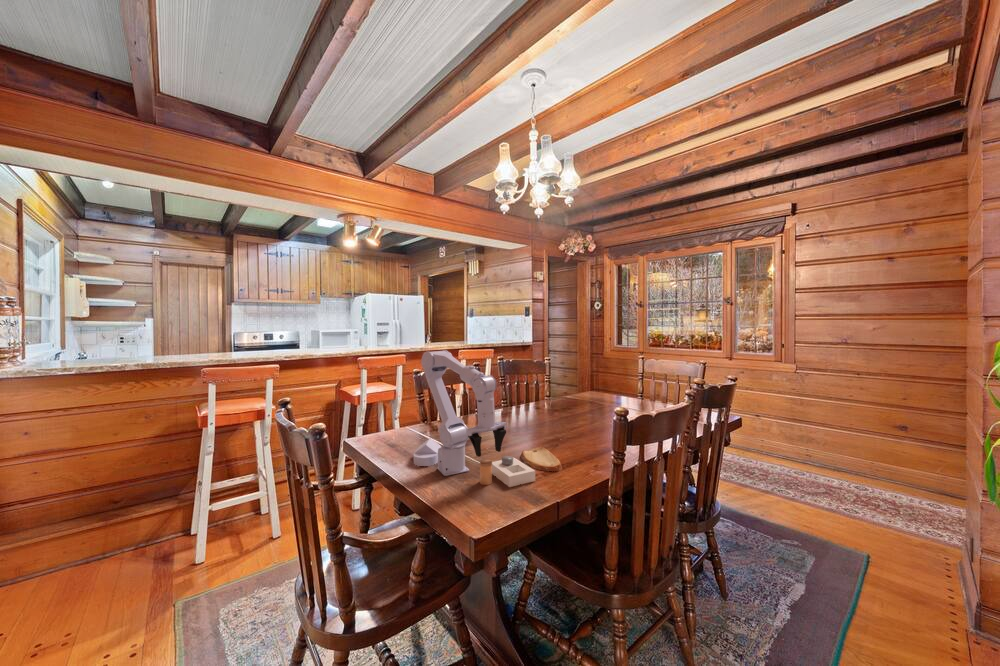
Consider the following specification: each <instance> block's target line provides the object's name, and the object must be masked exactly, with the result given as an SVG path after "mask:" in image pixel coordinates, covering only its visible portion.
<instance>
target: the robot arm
mask: <svg viewBox="0 0 1000 666" xmlns="http://www.w3.org/2000/svg"><path fill="white" fill-rule="evenodd" d="M420 364H421V367H422V370H423V372H424V375H425V379H426V382H427V384H428V387H429V389H430V392H431V395H432V398H433V401H434V403H435V406H436V409H437V411H438V414H439V416H440V419H441V424H440V425H439V427H438V428H437V429H438V433H439V440H440V443H441V448H439V449H438V462H437V467H436V468H437V471H439V472H440V473H441V474H442V475H443V476H444V477H447V476H452V475H456V474H457V475H458V474H461V473H466V472H469V471H470V469H469V467H467V466H466V444H467V441H468V440H469V441H470V442H471V444H472V446H473V449H474V453H475V456H476V457H478V458H480V457H481V456H482V449H481V448H482V446H481V445H482V444H481V443H482V436H481V435H480V434H483V433H487V432H492V433H493V439H494V447H495V451H496V452H498V453H500V452H501V451H502V446H503V445H502V444H503V441H504V438H505V436H506V434H507V430H506V429H507V428H508V426H507V425H508V423H507V422H506V421H501V422H496V414H495V413H496V410H495V397H494V396H495V394H494V392H495V391H496V390H497V386H498V384H497V380H496V378H495V377H494V376H493V375H490V374H489V375H488V374H487V375H486V374H485V373H484V372H482V371H479V370H478V369H476V368H475V366H474V365H464V364H463V363H461V361H460V360H458V359H457V358H455V357H454V356H453V354H452V353H451V352H450V351H448V350H447V349H443V350H435V351H425V352H423V354H422V356H421V359H420ZM447 369H449V370H451V371H453V372H454V373H456V374H458V375H459V378H460V380H461V381H462V382H464V383H465V384H467V385H468V386H470V387H471V388H472V391H473V393H474V395H475V400H476V407H477V425H475V426H472V427H468V426H467V425H466V424H465V422H464V420H463V419H462V418H460V417H458V416H457V414H456V411H455V409H454V406H453V404H452V401H451V399H450V396H449V394H448V391H447V388H446V386H445V383H444V380H443V378H442V377H443V375H444V374H445V373H446V371H447Z"/></svg>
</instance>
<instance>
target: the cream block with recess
mask: <svg viewBox="0 0 1000 666" xmlns="http://www.w3.org/2000/svg"><path fill="white" fill-rule="evenodd" d="M492 476H494V477H495V476H496V479H498V480H499V481H501V482H502V483H503V484H504V485H506V486H507V487H508V488H512V487H516V486H521V485H525V484H528V483H533V482H536V469H534V468H533V467H531V466H530V465H527V464H526V463H524V462H523V461H520V460H519V459H517V458H515V457H513V456H511V455H504V456H502V457H501V459H500V460H495V461H492ZM520 484H521V485H520Z"/></svg>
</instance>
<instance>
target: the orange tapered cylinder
mask: <svg viewBox="0 0 1000 666" xmlns="http://www.w3.org/2000/svg"><path fill="white" fill-rule="evenodd" d="M492 462H493V461H492V460H491V459H487V458H486V459H481V460H479V484H481V485H483V486H488V485H492V484H493V474H492Z"/></svg>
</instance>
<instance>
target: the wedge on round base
mask: <svg viewBox="0 0 1000 666" xmlns="http://www.w3.org/2000/svg"><path fill="white" fill-rule="evenodd" d="M441 447H442V444H441V445H440V444H439V443H438V442H436V441H435V440H434V439H432V438H431V437H429V438H428V439H427V440H425V441H424V442H423V443H422V444H420V445H419V446H418V447H417V449H416V450H415V451H414V453H413V465H414V464H415V466H416V465H417V466H416V467H419V466H428V467H432V466H435V465H437V464H438V449H439V448H441ZM436 463H437V464H436ZM434 464H435V465H434ZM431 465H432V466H431Z"/></svg>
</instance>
